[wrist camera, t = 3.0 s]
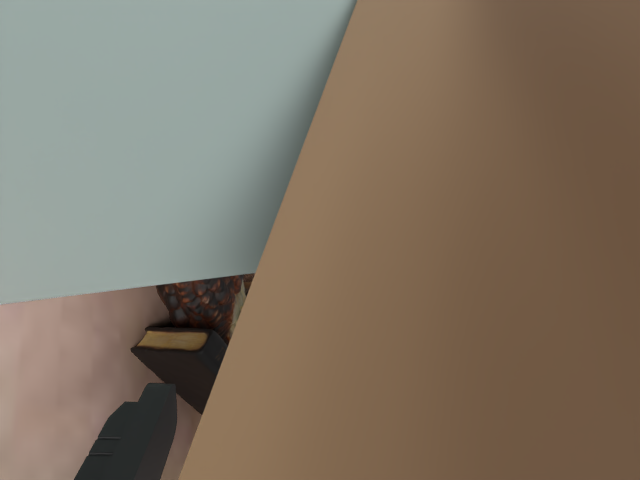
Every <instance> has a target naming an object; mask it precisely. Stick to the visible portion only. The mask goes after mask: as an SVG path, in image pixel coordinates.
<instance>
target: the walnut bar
mask: <svg viewBox="0 0 640 480" xmlns="http://www.w3.org/2000/svg"><path fill="white" fill-rule="evenodd" d="M178 480H640V0H357V2H356V5H355V8H354V11H353V13H352V16H351V19H350V21H349V24H348V27H347V29H346V32H345V35H344V37H343V40H342V43H341V45H340V48H339V51H338V53H337V56H336V59H335V61H334V64H333V67H332V69H331V72H330V75H329V77H328V80H327V83H326V85H325V88H324V91H323V93H322V96H321V99H320V102H319V104H318V107H317V110H316V112H315V115H314V118H313V120H312V123H311V126H310V128H309V131H308V134H307V136H306V139H305V142H304V144H303V147H302V150H301V152H300V155H299V158H298V160H297V163H296V166H295V168H294V171H293V174H292V176H291V179H290V182H289V184H288V187H287V190H286V193H285V195H284V198H283V201H282V203H281V206H280V209H279V211H278V214H277V217H276V219H275V222H274V225H273V227H272V230H271V233H270V235H269V238H268V241H267V243H266V246H265V249H264V251H263V254H262V257H261V259H260V262H259V265H258V267H257V270H256V273H255V275H254V278H253V281H252V283H251V286H250V289H249V292H248V294H247V297H246V300H245V302H244V305H243V308H242V310H241V313H240V316H239V318H238V321H237V324H236V326H235V329H234V332H233V334H232V337H231V340H230V342H229V345H228V348H227V350H226V353H225V356H224V358H223V361H222V364H221V366H220V369H219V372H218V374H217V377H216V380H215V383H214V385H213V388H212V391H211V393H210V396H209V399H208V401H207V404H206V407H205V409H204V412H203V415H202V417H201V420H200V423H199V425H198V428H197V431H196V433H195V436H194V439H193V441H192V444H191V447H190V449H189V452H188V455H187V457H186V460H185V463H184V465H183V468H182V471H181V474H180V476H179V479H178Z"/></svg>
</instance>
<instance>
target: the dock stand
mask: <svg viewBox="0 0 640 480" xmlns="http://www.w3.org/2000/svg"><path fill="white" fill-rule="evenodd" d="M356 2H357V0H0V305H1V304H9V303H17V302H25V301H33V300H41V299H49V298H57V297H65V296H73V295H81V294H89V293H97V292H105V291H113V290H121V289H129V288H138V287H146V286H154V285H162V284H170V283H178V282H186V281H194V280H202V279H210V278H218V277H226V276H234V275H242V274H250V273H256V270H257V267H258V265H259V262H260V259H261V257H262V254H263V251H264V249H265V246H266V243H267V241H268V238H269V235H270V233H271V230H272V227H273V225H274V222H275V219H276V217H277V214H278V211H279V209H280V206H281V203H282V201H283V198H284V195H285V193H286V190H287V187H288V184H289V182H290V179H291V176H292V174H293V171H294V168H295V166H296V163H297V160H298V158H299V155H300V152H301V150H302V147H303V144H304V142H305V139H306V136H307V134H308V131H309V128H310V126H311V123H312V120H313V118H314V115H315V112H316V110H317V107H318V104H319V102H320V99H321V96H322V93H323V91H324V88H325V85H326V83H327V80H328V77H329V75H330V72H331V69H332V67H333V64H334V61H335V59H336V56H337V53H338V51H339V48H340V45H341V43H342V40H343V37H344V35H345V32H346V29H347V27H348V24H349V21H350V19H351V16H352V13H353V11H354V8H355V5H356Z"/></svg>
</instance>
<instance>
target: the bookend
mask: <svg viewBox="0 0 640 480" xmlns="http://www.w3.org/2000/svg"><path fill="white" fill-rule="evenodd" d="M243 277H244V274H242V275H234V276H226V277H218V278H210V279H202V280H194V281H186V282H178V283H170V284H162V285H156V287H157V292H158V294H159V296H160V298H161V300H162V301H163V303H164V304H165V305H166V307H167V309H168V311H169V316H170V320H171V322H172V324H173V325H174V326H175V327H176V328H173V327H164V328H159V327H147V328H145V331H146V332H147V334H146V335H145V337H144V338H143V339H142V341H141V342H140V343H139V344H138V345H137V346H136V347H134V348H131V352H132V353H133V354H134V355H135V356H136V357H138V359H139V360H141V362H142V363H144V364H145V365H146V366H147V367H148V368H149V369H151V370H152V371H153V372H154V373H155V374H156V375H157V376H158V377H159V378H160V379H161V380H162V381H164V383H167V384H175V385H176V393H177V394H178V395H180V396H181V397H182V398H183V399H184V400H185V401H186V402H187V403H189V404H190V405H191V406H193V408H195V409H196V410H197V411H198V412H199V413H200V414H202V415H203V412H204V409H205V407H206V404H207V401H208V399H209V396H210V393H211V391H212V388H213V385H214V383H215V380H216V377H217V374H218V372H219V369H220V366H221V364H222V361H223V358H224V356H225V353H226V350H227V348H228V345H229V342H230V340H231V337H232V334H233V332H234V329H235V326H236V324H237V321H238V318H239V316H240V313H241V310H242V308H243V305H244V302H245V300H246V297H247V294H248V292H249V289H250V286H251V283H252V282H243Z"/></svg>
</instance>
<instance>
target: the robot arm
mask: <svg viewBox="0 0 640 480" xmlns="http://www.w3.org/2000/svg"><path fill="white" fill-rule="evenodd" d="M176 424H177V404H176V385H175V384H167V383H148V384H147V386H146V387H145V389H144V391H143V393H142V395H141V397H140V399H139V401H138V402H124V403H123V404H122V405H121V406H120V407H119V408H118V409H117V410H116V411H115V412H114V413H113V414H112V415H111V416H110V417H109V418H108V420H107V421H106V423H105V425H104V427H103V428H102V430H101V432H100V434H99V436H98V439H97V440H96V441H95V443H94V445H93V446H92V448H91V450H90V452H89V455H88V456H87V457H86V459H85V461H84V463H83V464H82V466H81V468H80V470H79V471H78V473H77V475H76V477H75V479H74V480H160V478H161V475H162V472H163V469H164V466H165V463H166V460H167V457H168V454H169V451H170V448H171V445H172V442H173V439H174V435H175V430H176Z"/></svg>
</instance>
